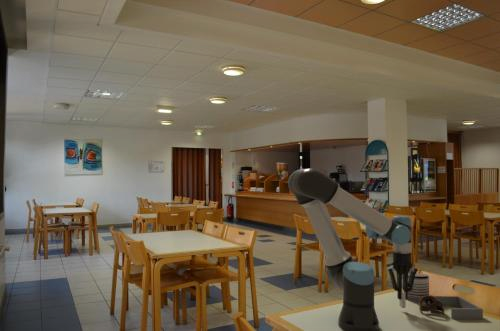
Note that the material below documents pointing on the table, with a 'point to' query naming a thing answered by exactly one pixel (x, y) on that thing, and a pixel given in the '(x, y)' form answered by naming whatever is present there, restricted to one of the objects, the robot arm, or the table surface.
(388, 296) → the table surface
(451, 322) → the table surface
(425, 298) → the brown ring with knob
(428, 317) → the table surface
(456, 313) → the box
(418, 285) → the can
